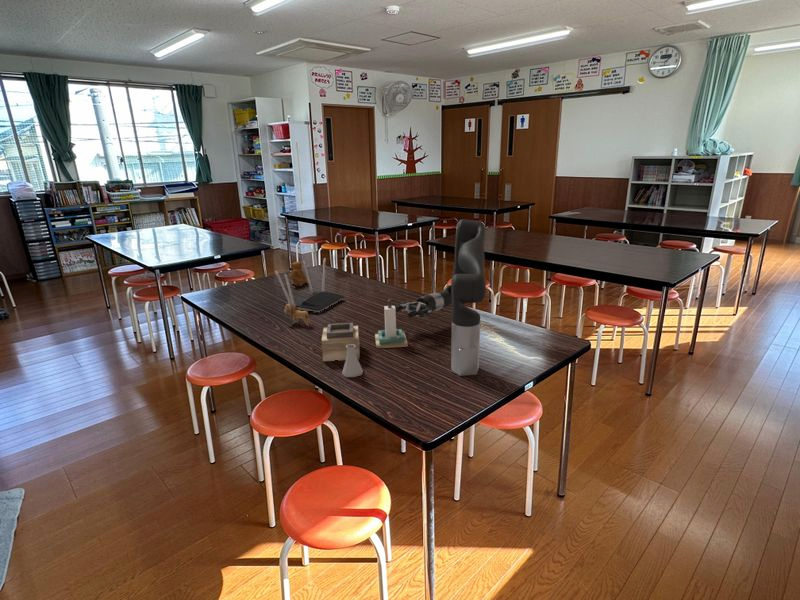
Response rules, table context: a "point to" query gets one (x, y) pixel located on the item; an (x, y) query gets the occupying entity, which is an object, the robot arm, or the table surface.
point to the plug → (390, 320)
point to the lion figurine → (297, 313)
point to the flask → (351, 363)
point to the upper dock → (339, 341)
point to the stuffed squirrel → (297, 274)
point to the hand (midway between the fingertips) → (401, 312)
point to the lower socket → (390, 339)
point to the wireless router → (311, 295)
